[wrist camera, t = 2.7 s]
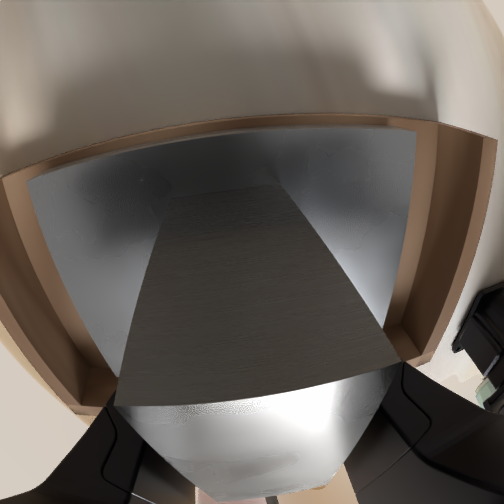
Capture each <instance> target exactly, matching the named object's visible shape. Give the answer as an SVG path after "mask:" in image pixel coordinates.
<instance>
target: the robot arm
mask: <svg viewBox="0 0 504 504" xmlns="http://www.w3.org/2000/svg"><path fill="white" fill-rule="evenodd" d="M463 349H465V351H466V352H467V354H468V355H469V356H470V358H471V359H472V361H473V362H474V363H475V365H476V366H477V368H478V369H479V370H480V372H481V373H482V375H483V376H487V378H488V379H489V381H490V382H491V384H492V385H493V387H494V388H495V390H496V391H495V392H494V393H493V394H492V395H491V396H490V397H488V398H487V399H486V400H485V401H484V402H483V406H484V408H485V409H483V408H481V407H479V406H477V405H476V404H474V403H472V402H470V401H468V400H467V399H465V398H463V397H461V396H459V395H458V394H456V393H454V392H452V391H450V390H449V389H447V388H445V387H443V386H442V385H440V384H438V383H437V382H435V381H433V380H432V379H430V378H429V377H427V376H426V375H424V374H423V373H421V372H420V371H418V370H417V369H416V368H414V367H413V366H411V365H410V364H409V363H407V362H406V361H404V362H403V359H401V358H400V359H401V361H402V362H401V364H400V366H399V369H398V371H397V373H396V375H395V377H394V379H393V381H392V383H391V385H390V387H389V389H388V391H387V393H386V394H385V396H384V398H383V400H382V402H381V404H380V405H379V407H378V409H377V411H376V413H375V414H374V416H373V418H372V419H371V421H370V423H369V424H368V426H367V428H366V429H365V431H364V433H363V434H362V436H361V437H360V439H359V441H358V442H357V444H356V445H355V447H354V448H353V450H352V451H351V453H350V454H349V456H348V457H347V458H346V460H345V461H344V465H345V468H346V471H347V473H348V476H349V479H350V481H351V484H352V487H353V489H354V492H355V493H356V497H357V500H358V503H359V504H504V282H502V283H500V284H497V285H495V286H492V287H490V288H487V289H485V290H482V291H481V292H480V293H479V294H478V295H477V297H476V300H475V302H474V304H473V307H472V309H471V311H470V313H469V315H468V317H467V320H466V322H465V324H464V326H463V328H462V330H461V332H460V334H459V336H458V338H457V339H456V341H455V343H454V345H453V347H452V351H453V352H454V353H457V352H459V351H461V350H463ZM116 390H117V388H116ZM116 390H115V391H114V392H113V394H112V395H111V397H110V398H109V400H108V401H107V403H106V404H105V406H106V407H103V408H102V410H101V411H100V413H99V414H98V416H97V417H96V418H95V420H94V421H93V423H92V424H91V425H90V427H89V428H88V430H87V431H86V432H85V434H84V435H83V436H82V437H81V439H80V440H79V441H78V442H77V443H76V445H75V446H74V447H73V448H72V450H71V451H70V452H69V453H68V454H67V455H66V457H65V458H64V459H63V460H62V461H61V463H60V464H59V465H58V466H57V467H56V468H55V470H54V471H53V472H52V473H51V474H50V476H49V477H48V478H47V479H46V480H45V481H44V482H43V483H42V484H40V485H39V486H37V487H36V488H34V489H32V490H30V491H27V492H25V493H21V494H19V495H15V496H12V497H9V498H5V499H1V500H0V504H195V485H194V484H193V483H192V482H191V481H189V480H188V479H187V478H186V477H184V476H183V475H182V474H181V473H180V472H179V471H177V470H176V469H175V468H174V467H173V466H172V465H171V464H169V463H168V462H167V461H166V460H165V459H164V458H163V457H162V456H161V455H160V454H159V453H158V452H156V451H155V450H154V449H153V448H152V447H151V446H150V445H149V444H148V443H147V442H146V441H145V440H144V439H143V438H142V437H141V436H140V435H139V434H138V433H137V432H136V430H135V429H134V428H133V427H132V426H131V425H130V424H129V423H128V422H127V421H126V420H125V419H124V417H123V416H122V415H121V414H120V413H119V412H118V411H117V409H116V408H115V407H114V401H115V395H116Z"/></svg>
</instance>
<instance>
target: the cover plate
mask: <svg viewBox="0 0 504 504" xmlns="http://www.w3.org/2000/svg"><path fill="white" fill-rule="evenodd" d="M416 133H417V132H416V131H412V130H409V129H405V128H401V127H398V126H388V125H369V124H295V125H276V126H261V127H250V128H239V129H230V130H221V131H213V132H206V133H199V134H192V135H186V136H179V137H174V138H168V139H163V140H157V141H152V142H147V143H142V144H138V145H133V146H129V147H124V148H120V149H116V150H112V151H108V152H104V153H100V154H96V155H93V156H89V157H86V158H82V159H79V160H75V161H72V162H69V163H65V164H62V165H59V166H56V167H53V168H50V169H47V170H44V171H42V172H41V173H39V174H37V175H36V176H34V177H32V178H31V179H29V180H27V181H26V182H27V186H28V190H29V193H30V197H31V200H32V203H33V206H34V210H35V213H36V216H37V219H38V222H39V225H40V227H41V230H42V233H43V236H44V238H45V241H46V244H47V246H48V249H49V251H50V254H51V256H52V259H53V261H54V263H55V266H56V268H57V270H58V273H59V275H60V277H61V279H62V282H63V284H64V286H65V288H66V290H67V292H68V294H69V296H70V298H71V300H72V302H73V304H74V306H75V308H76V310H77V312H78V314H79V316H80V318H81V319H82V321H83V323H84V325H85V327H86V329H87V330H88V332H89V334H90V336H91V337H92V339H93V341H94V342H95V344H96V346H97V347H98V349H99V351H100V352H101V354H102V355H103V357H104V359H105V360H106V362H107V363H108V365H109V366H110V368H111V369H112V371H113V372H114V374H115V375H116V377H119V379H118V384H117V390H116V395H115V401H114V407H115V408H116V409H117V411H118V412H119V413H120V414H121V415H122V416H123V417H124V419H125V420H126V421H127V422H128V423H129V424H130V425H131V426H132V427H133V428H134V429H135V430H136V432H137V433H138V434H139V435H140V436H141V437H142V438H143V439H144V440H145V441H146V442H147V443H148V444H149V445H150V446H151V447H152V448H153V449H154V450H155V451H156V452H158V453H159V454H160V455H161V456H162V457H163V458H164V459H165V460H166V461H167V462H168V463H169V464H171V465H172V466H173V467H174V468H175V469H176V470H177V471H179V472H180V473H181V474H182V475H183V476H184V477H186V478H187V479H188V480H189V481H191V482H192V483H193V484H194V485H196V486H197V487H198V488H199V489H201V490H202V491H203V492H205V493H206V494H207V495H209V496H210V497H211V498H213V499H214V500H215V501H217V502H225V501H238V500H248V499H256V498H263V497H270V496H276V495H282V494H287V493H293V492H297V491H302V490H307V489H311V488H315V487H319V486H323V485H327V484H328V483H329V482H330V480H331V479H332V477H333V476H334V475H335V474H336V472H337V471H338V470H339V468H340V467H341V465H342V464H343V463H344V461H345V460H346V458H347V457H348V456H349V454H350V453H351V451H352V450H353V448H354V447H355V445H356V444H357V442H358V441H359V439H360V437H361V436H362V434H363V433H364V431H365V429H366V428H367V426H368V424H369V423H370V421H371V419H372V418H373V416H374V414H375V413H376V411H377V409H378V407H379V405H380V404H381V402H382V400H383V398H384V396H385V394H386V393H387V391H388V389H389V387H390V385H391V383H392V381H393V379H394V377H395V375H396V373H397V371H398V369H399V366H400V364H401V362H402V361H401V359H400V357H399V356H398V354H397V352H396V351H395V349H394V347H393V346H392V344H391V342H390V341H389V339H388V338H387V336H386V334H385V333H384V331H383V330H382V328H383V325H384V321H385V318H386V315H387V311H388V308H389V304H390V300H391V296H392V293H393V289H394V285H395V281H396V276H397V272H398V268H399V263H400V258H401V254H402V249H403V243H404V238H405V233H406V227H407V221H408V214H409V208H410V200H411V193H412V184H413V175H414V164H415V151H416Z"/></svg>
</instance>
